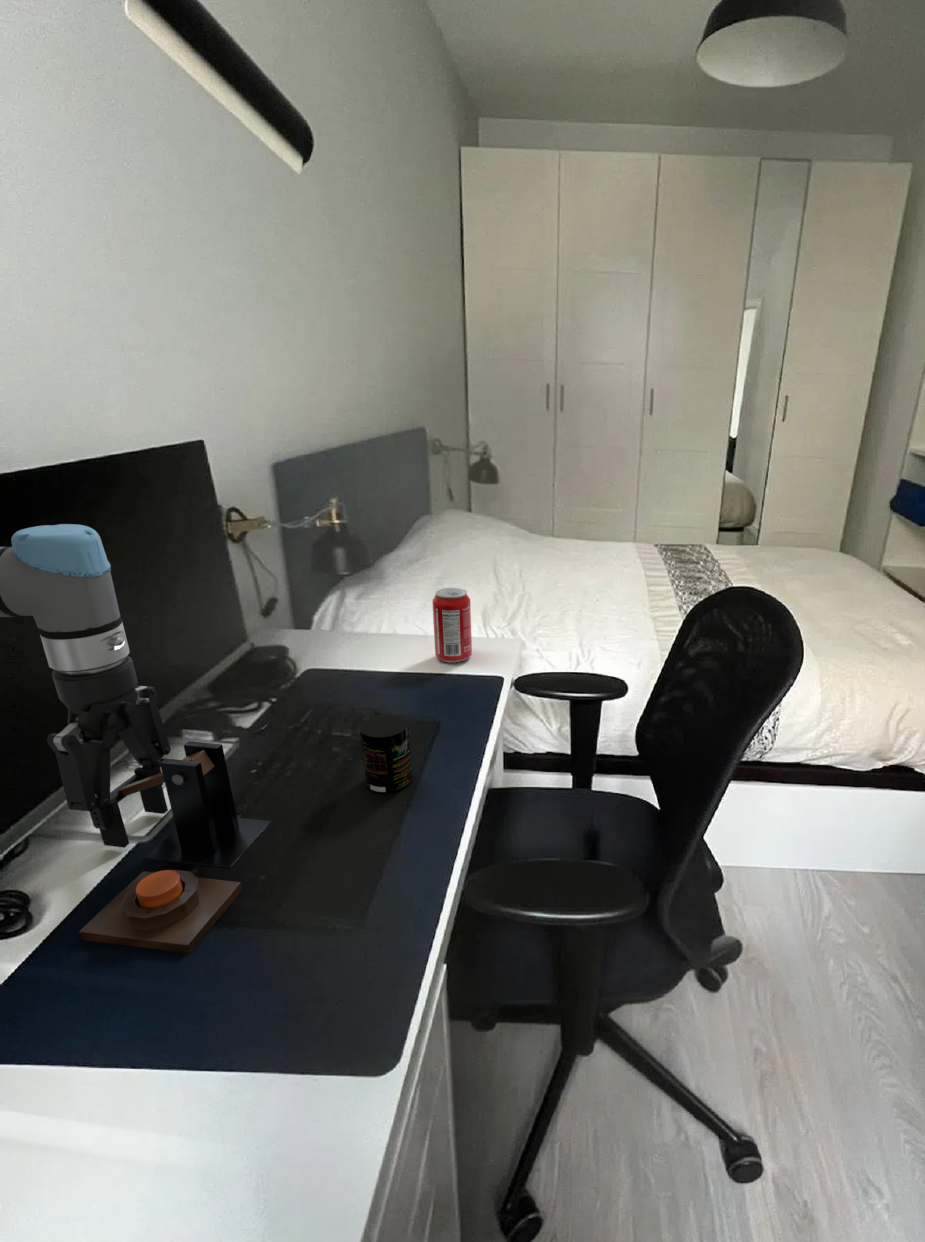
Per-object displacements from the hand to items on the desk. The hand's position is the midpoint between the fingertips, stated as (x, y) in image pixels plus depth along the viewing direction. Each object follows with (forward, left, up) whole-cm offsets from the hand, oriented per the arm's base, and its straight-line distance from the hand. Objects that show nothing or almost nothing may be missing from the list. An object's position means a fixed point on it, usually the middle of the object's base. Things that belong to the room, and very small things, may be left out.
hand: (137, 826), depth 82 cm
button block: (+13, -12, -2) cm, 18 cm away
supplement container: (+27, +16, -2) cm, 31 cm away
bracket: (+10, 0, -2) cm, 10 cm away
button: (+13, -12, +2) cm, 18 cm away
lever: (+5, 0, +7) cm, 9 cm away
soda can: (+22, +64, -2) cm, 68 cm away
